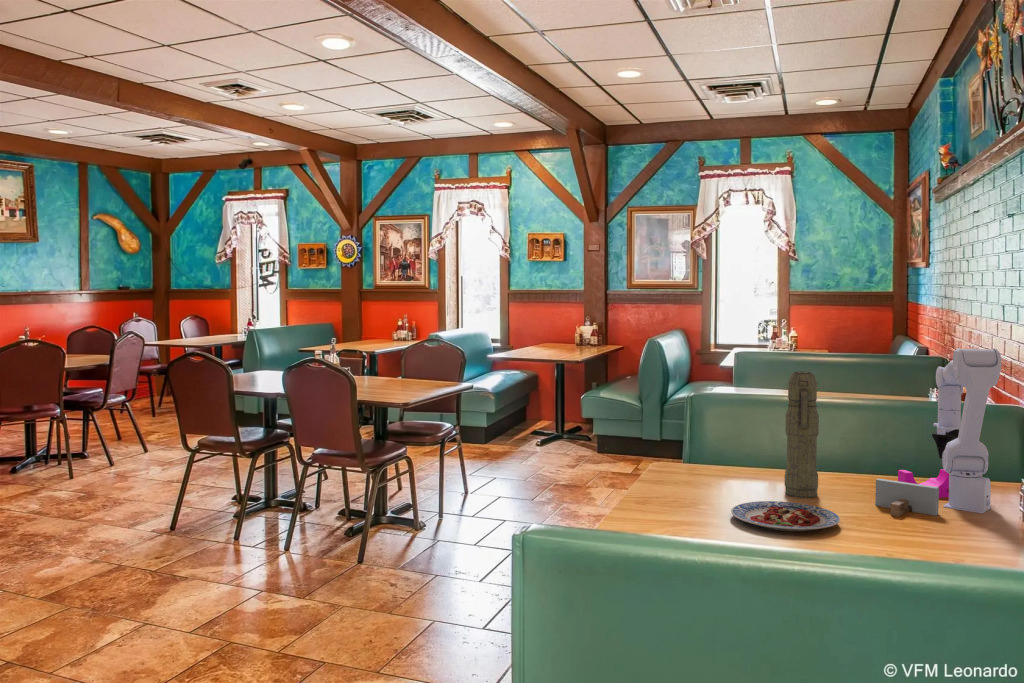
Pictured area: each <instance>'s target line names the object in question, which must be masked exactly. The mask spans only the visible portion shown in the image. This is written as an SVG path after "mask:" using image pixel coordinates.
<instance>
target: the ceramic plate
mask: <svg viewBox="0 0 1024 683" xmlns="http://www.w3.org/2000/svg"><path fill="white" fill-rule="evenodd" d="M730 512H731V514H732V516H733V517H735V518H736V519H738V520H740V521H742V522H745V523H747V524H752V525H755V526H757V527H761V528H765V529H769V530H774V531H782V532H807V531H813V530H819V529H826V528H831V527H834V526H836V525H837V524H839V523H840V521H841V517H840V516H839V515H838V514H837V513H836V512H833V511H831V510H830V509H827V508H823V507H820V506H816V505H812V504H807V503H801V502H791V501H782V500H780V501H779V500H778V501H777V500H776V501H775V500H761V501H759V500H757V501H750V502H744V503H743V502H742V503H739V504H737V505H735V506H733V507H732V508H731V510H730Z"/></svg>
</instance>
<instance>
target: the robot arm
mask: <svg viewBox="0 0 1024 683" xmlns="http://www.w3.org/2000/svg"><path fill="white" fill-rule="evenodd" d="M1001 355H1002V354H1001V352H1000V351H999V350H998V349H997V348H990V349H989V348H959V347H957V348H956V349H955V350H954V351H953V354H952V360H950V361H949V362H948V363H947V365H946V366H944V367H943V366H937V368H936V371H935V384H936V386H937V389H938V390H937V391H938V394H937V395H938V396H937V422H934V423H933V424H932V426H933V427H936V432H933V433H931V436H932V438H933V440H934V443H935V446H936V449H937V453H938V456H939V459H940V460H941V464H942V469H944V470H945V471H946V472H948V473H949V497H948V503H947V502H946V503H945V504H944V505H942V506H943V508H946V509H952V510H957V511H965V512H971V513H975V514H976V513H977V514H984V513H986V512H988V510H990V509H992V507H991V497H992V496H991V495H992V494H991V492H992V491H991V489H992V488H991V487H992V486H991V485H992V484H991V479H990V478H989V477H983V475H984V474H986V473H987V471H988V469H989V455H990V454H989V451H988V448H987V447H986V445H985V444H984V443H983V442H982V441H980V437H981V431H982V428H983V422H984V418H985V417H984V416H985V411H986V406H987V402H988V397H989V394H990V390H991V388H993V387H995V386H996V385H998V382H999V379H1000V375H1001V370H1002V356H1001ZM964 388H965V390H966V393H965V398H964V403H963V408H962V395H963V393H964ZM961 408H962V409H961Z"/></svg>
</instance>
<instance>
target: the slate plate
mask: <svg viewBox="0 0 1024 683" xmlns="http://www.w3.org/2000/svg"><path fill="white" fill-rule="evenodd" d="M899 499H903V500H908V505H909V506H912V510H911V512H912V513H919V514H924V515H929V516H934V517H935V516H937V515H939V503H940V502H939V499H940V497H939V487H934V486H927V485H920V483H917V484H913V483H906V482H899V481H898V480H890V479H885V478H876V479H875V506H877V507H883V508H888V509H891V503H893V502H895V501H897V500H899Z"/></svg>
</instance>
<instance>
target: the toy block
mask: <svg viewBox="0 0 1024 683" xmlns="http://www.w3.org/2000/svg"><path fill="white" fill-rule="evenodd" d="M897 481H899V482H906V483H913V484H918V483H917V482H916V480H915V478H914V473H913V472H912V471H910V470H909V471H908V470H906V469H898V470H897ZM919 484H920V485H927V486H934V487H939V498H949V473H948V472H946V471H945V470H944V468H942V469H939V474H938V475H937V477H930V478H929V479H927V480H926V481H924V482H921V483H919Z"/></svg>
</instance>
